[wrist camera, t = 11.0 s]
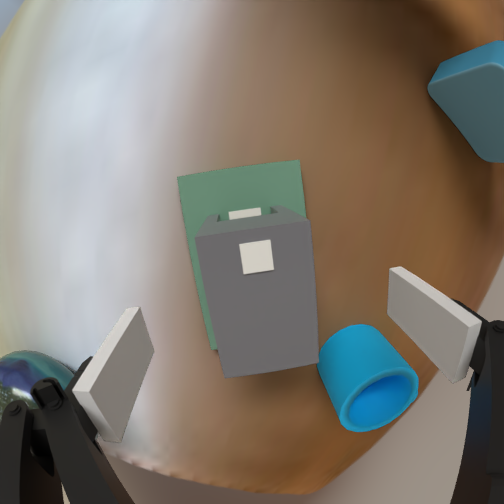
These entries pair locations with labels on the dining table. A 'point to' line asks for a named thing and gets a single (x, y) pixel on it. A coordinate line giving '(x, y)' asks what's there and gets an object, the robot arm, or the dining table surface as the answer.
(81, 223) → the dining table surface
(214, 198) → the header board
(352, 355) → the mug
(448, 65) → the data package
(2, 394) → the vase
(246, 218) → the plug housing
